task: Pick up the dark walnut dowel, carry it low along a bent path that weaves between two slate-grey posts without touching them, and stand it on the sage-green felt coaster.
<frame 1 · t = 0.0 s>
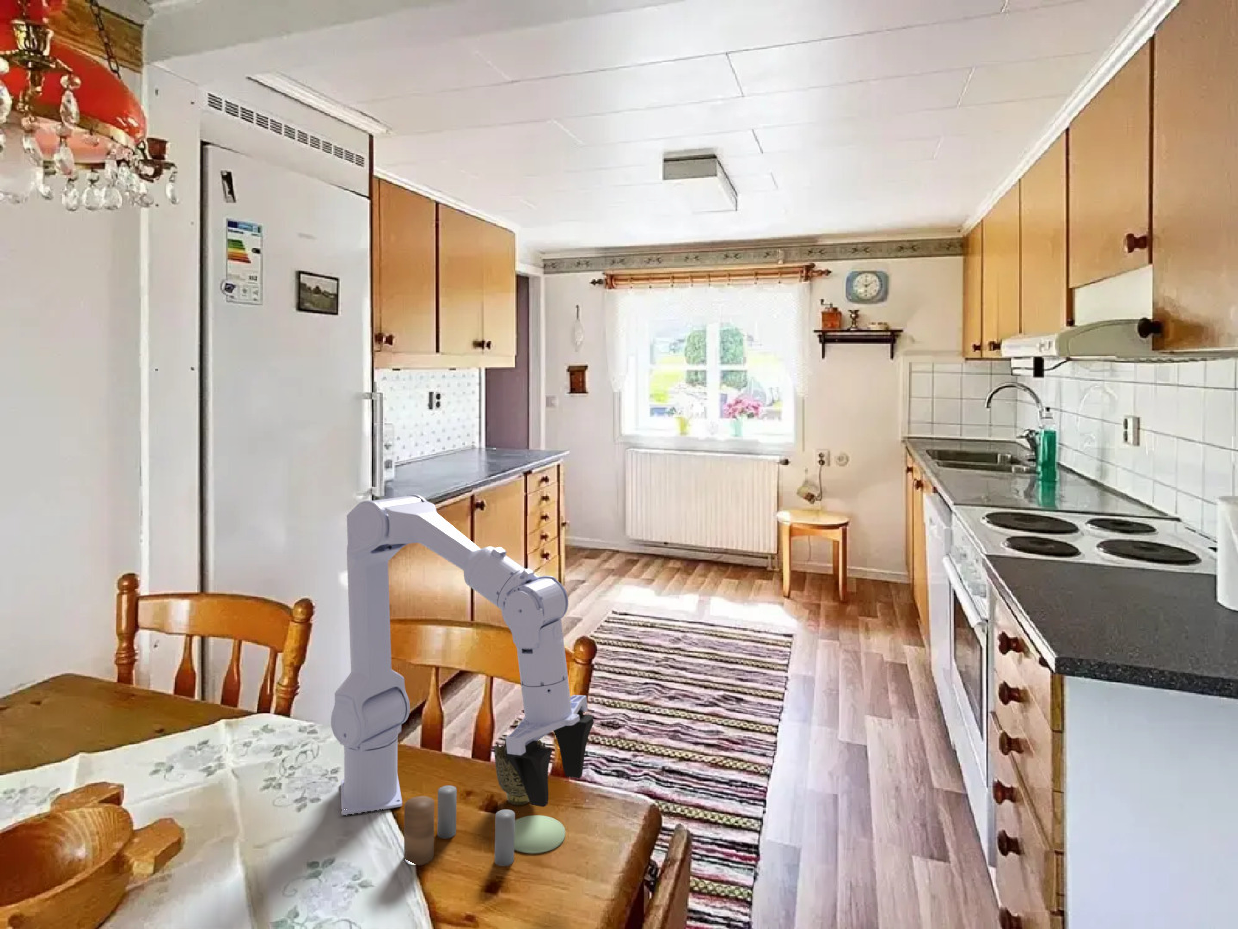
hand: (557, 790, 90), 11 cm above the table, tool pointing down, fingers open, 7 cm apart
dowel: (418, 857, 94), on the table
coaster: (535, 835, 99), on the table
cup: (519, 801, 107), on the table
post b: (504, 860, 93), on the table
post a: (446, 833, 99), on the table
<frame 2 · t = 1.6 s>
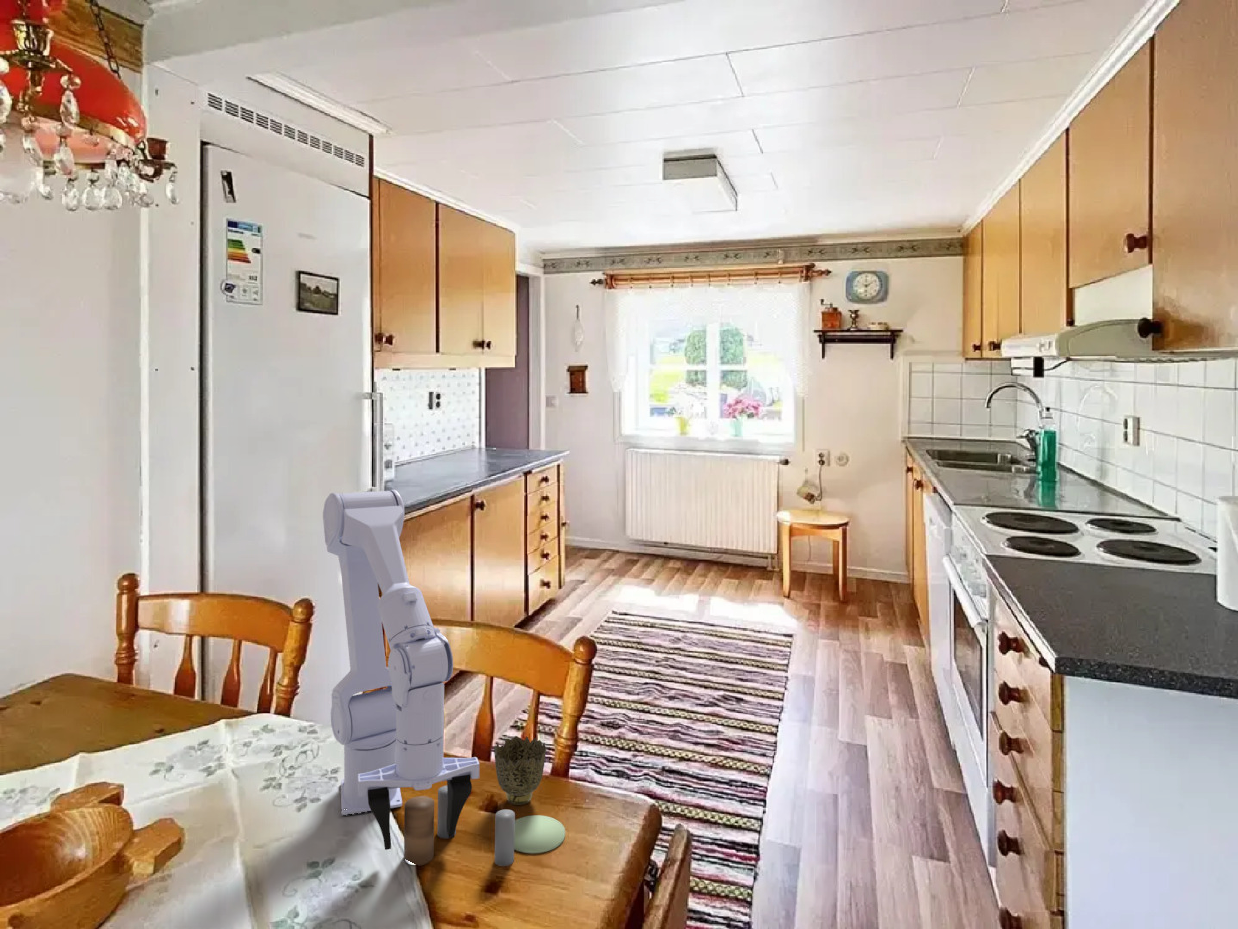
hand: (419, 839, 93), 2 cm above the table, tool pointing down, fingers open, 7 cm apart
nothing on the table moved.
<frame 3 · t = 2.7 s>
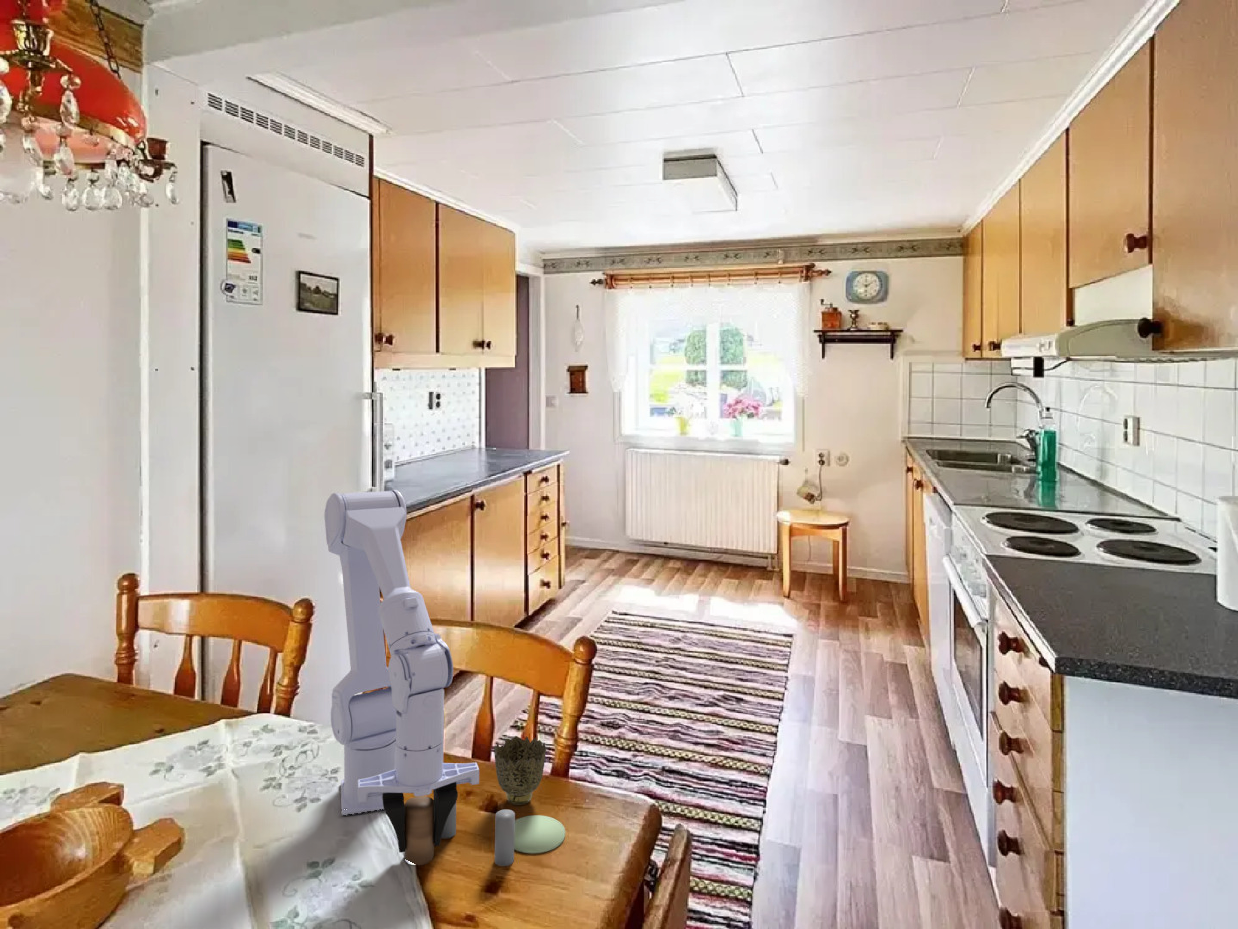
hand: (419, 844, 93), 2 cm above the table, tool pointing down, fingers closed on dowel, 4 cm apart
dowel: (418, 857, 94), on the table, touching gripper
everything else where it was.
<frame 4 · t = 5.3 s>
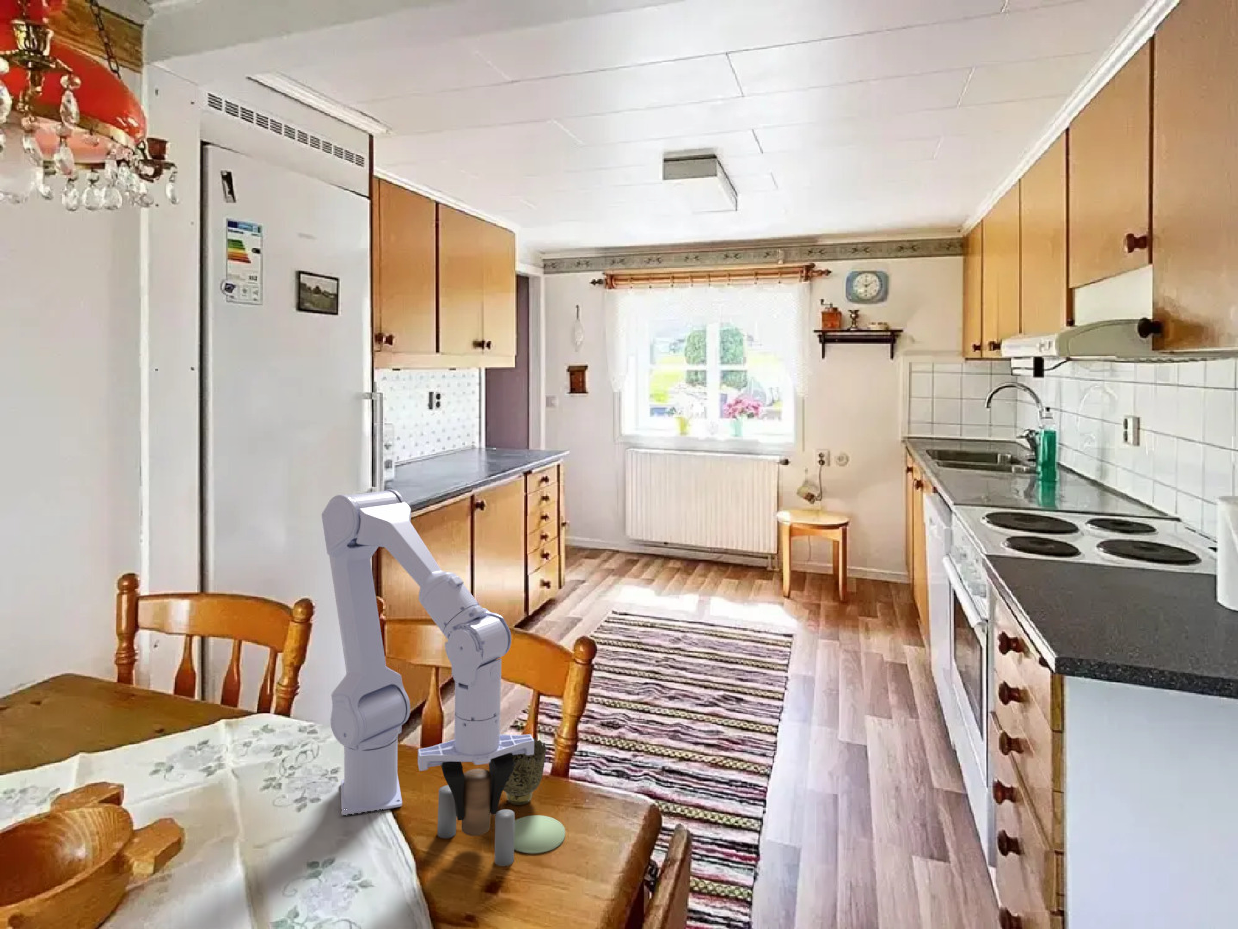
hand: (476, 813, 96), 4 cm above the table, tool pointing down, fingers closed on dowel, 4 cm apart
dowel: (475, 827, 96), point 3 cm above the table, touching gripper
everything else where it was.
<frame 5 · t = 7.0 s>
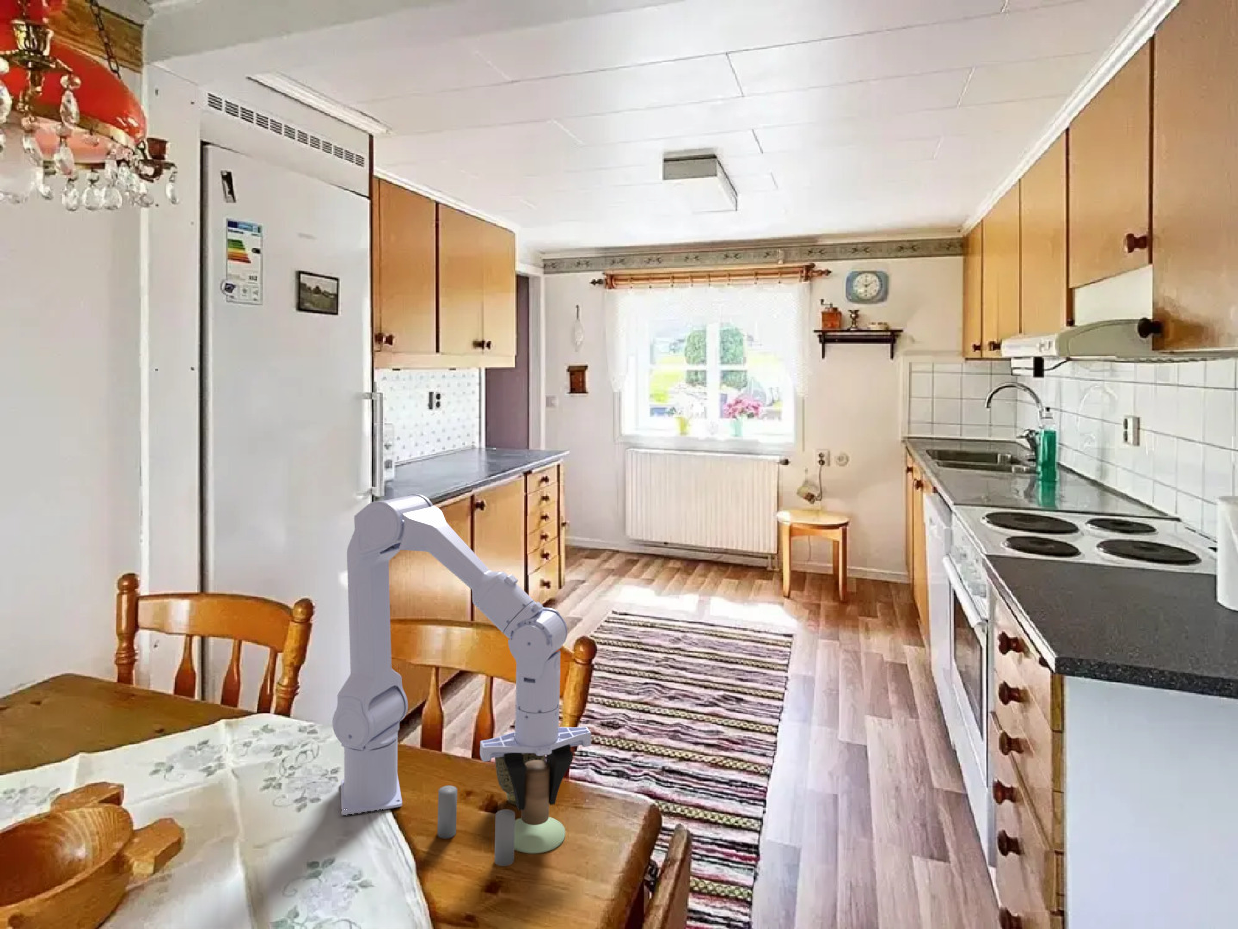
hand: (535, 803, 99), 4 cm above the table, tool pointing down, fingers closed on dowel, 4 cm apart
dowel: (535, 817, 99), point 3 cm above the table, touching gripper
everything else where it was.
when the fingers open (3 cm above the table, at t = 8.2 s): dowel stays where it is, resting on coaster.
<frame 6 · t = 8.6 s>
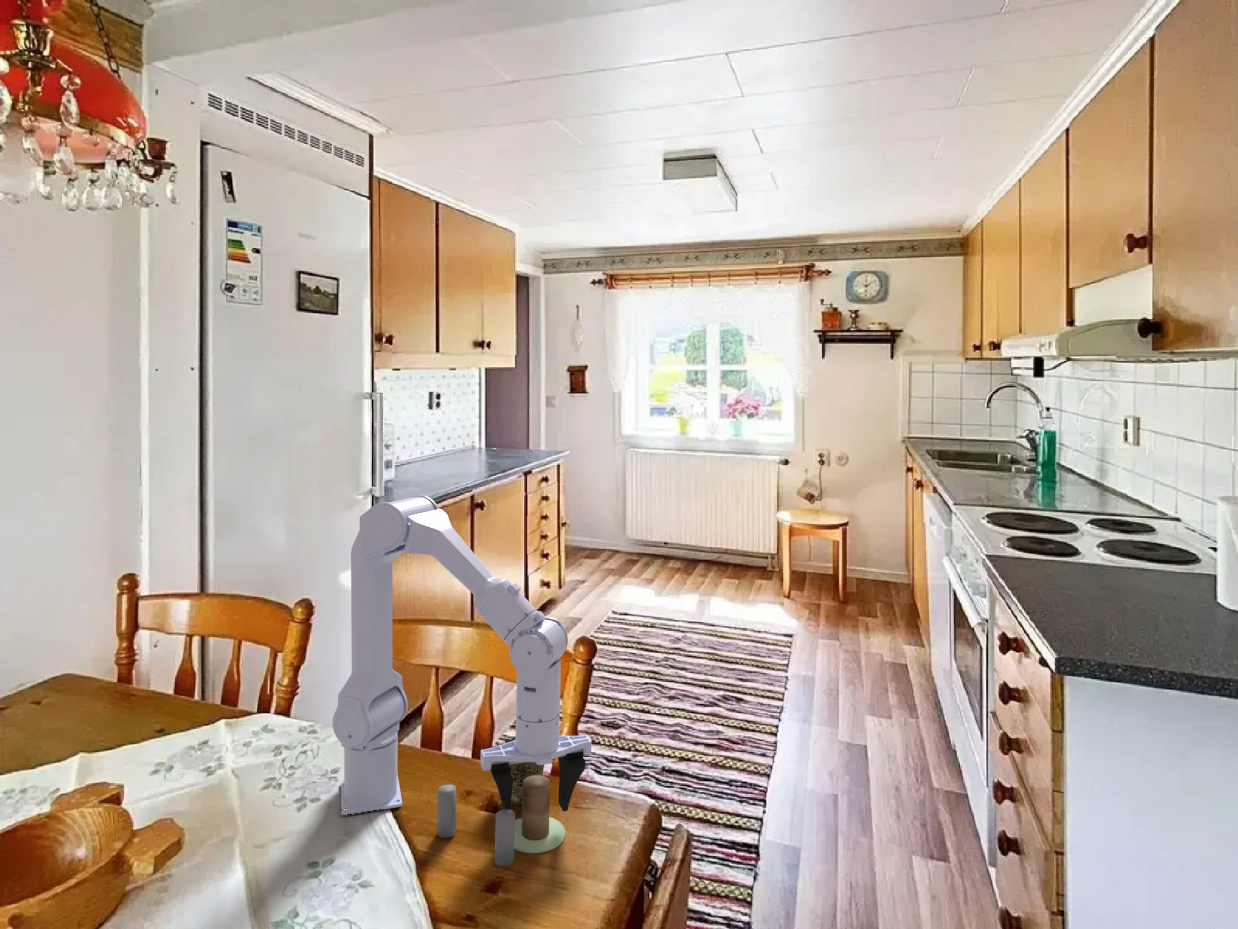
hand: (535, 812, 99), 3 cm above the table, tool pointing down, fingers open, 7 cm apart
dowel: (535, 832, 99), resting on coaster
everything else where it was.
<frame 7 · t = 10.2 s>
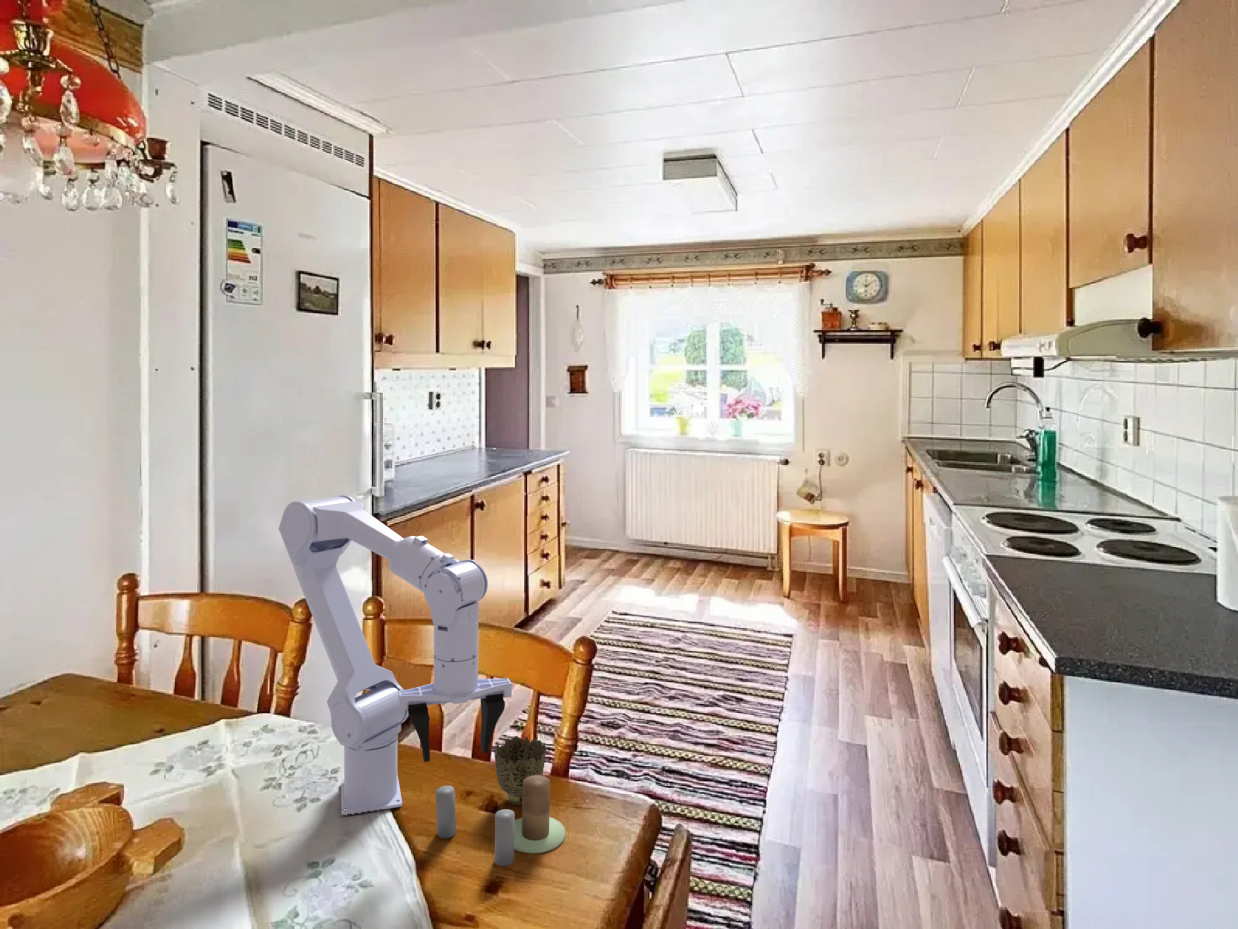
hand: (455, 754, 99), 10 cm above the table, tool pointing down, fingers open, 7 cm apart
nothing on the table moved.
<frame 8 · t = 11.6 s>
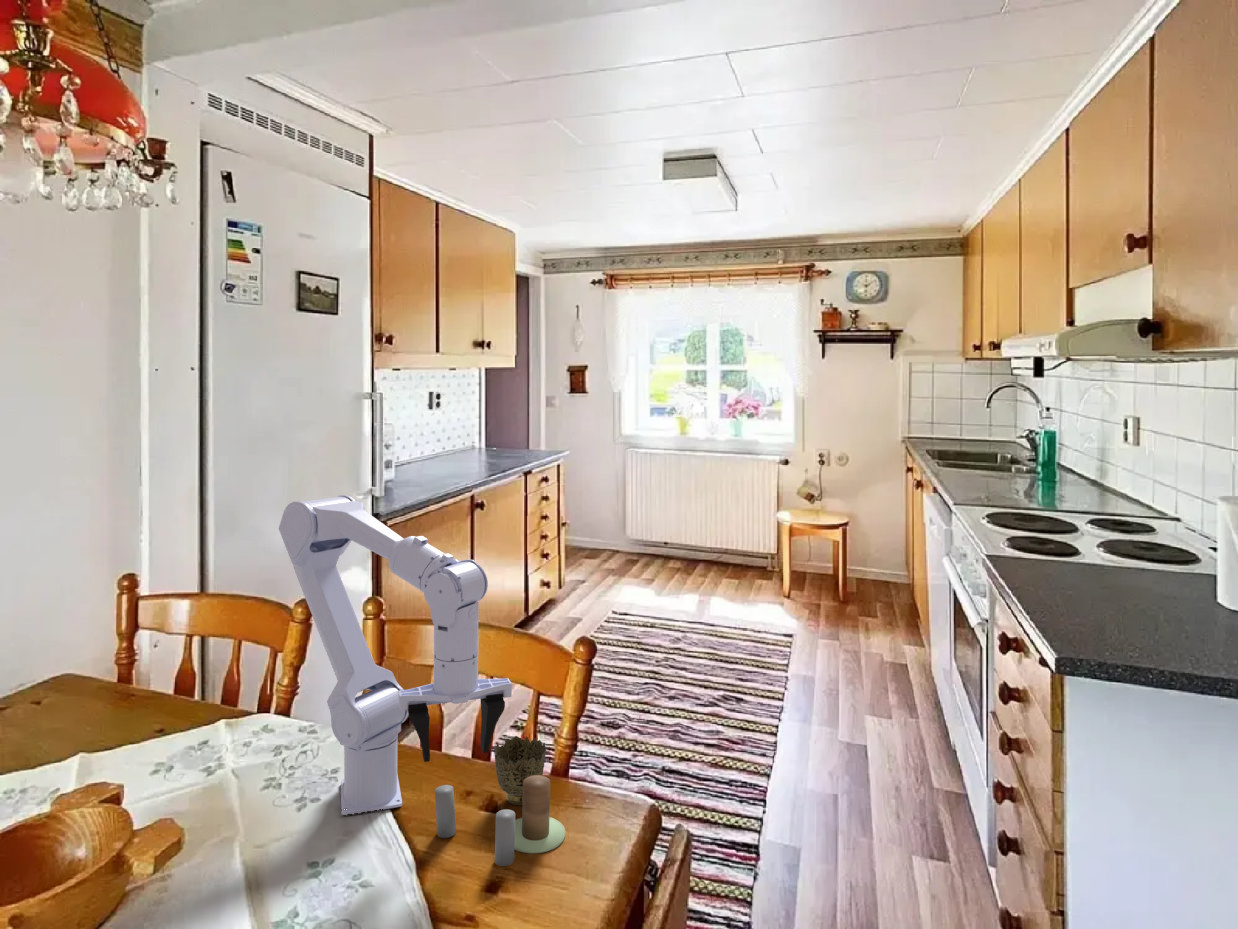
hand: (455, 754, 99), 10 cm above the table, tool pointing down, fingers open, 7 cm apart
nothing on the table moved.
at the end: dowel inside the target area on the coaster (0.1 cm from its centre), point 0.4 cm above the coaster's base; dowel tilted 0°; post b moved 0.0 cm from its start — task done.
